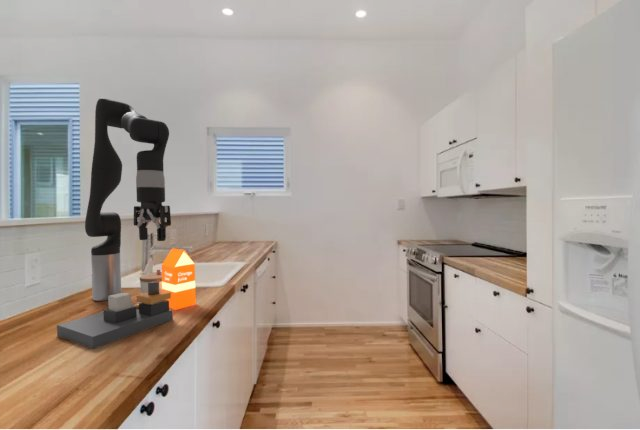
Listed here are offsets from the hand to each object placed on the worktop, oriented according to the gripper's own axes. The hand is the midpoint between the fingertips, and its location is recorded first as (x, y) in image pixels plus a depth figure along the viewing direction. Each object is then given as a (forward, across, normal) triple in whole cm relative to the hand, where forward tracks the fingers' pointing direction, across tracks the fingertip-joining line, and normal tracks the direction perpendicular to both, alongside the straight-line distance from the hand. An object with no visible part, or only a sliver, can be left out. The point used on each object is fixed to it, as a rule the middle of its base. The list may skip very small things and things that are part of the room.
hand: (152, 240), depth 94 cm
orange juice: (+25, +7, -14) cm, 30 cm away
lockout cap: (+18, 0, 0) cm, 18 cm away
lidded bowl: (+25, +21, -16) cm, 37 cm away
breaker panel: (+25, +5, +8) cm, 26 cm away
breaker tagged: (+22, 0, 0) cm, 22 cm away
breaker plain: (+19, +3, +8) cm, 21 cm away
